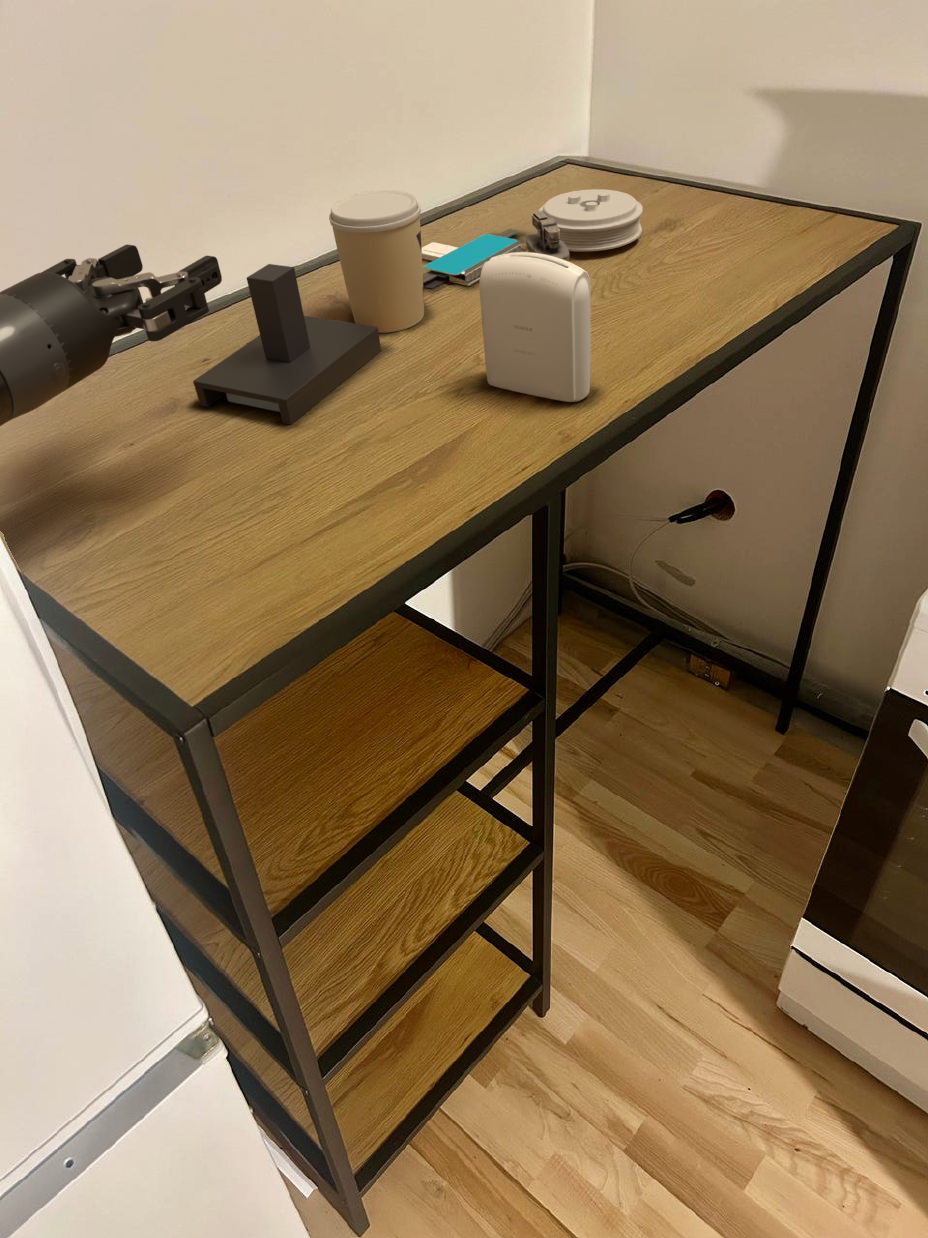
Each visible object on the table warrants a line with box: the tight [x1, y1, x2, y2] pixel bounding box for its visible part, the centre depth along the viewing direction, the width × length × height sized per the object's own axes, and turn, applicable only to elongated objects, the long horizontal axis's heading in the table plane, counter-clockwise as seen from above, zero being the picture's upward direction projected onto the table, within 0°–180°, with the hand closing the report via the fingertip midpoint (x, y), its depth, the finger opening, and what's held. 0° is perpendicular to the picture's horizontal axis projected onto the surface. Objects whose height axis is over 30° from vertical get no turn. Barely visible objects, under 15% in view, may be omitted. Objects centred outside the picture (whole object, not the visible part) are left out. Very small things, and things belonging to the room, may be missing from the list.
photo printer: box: [478, 252, 592, 403], centre depth 82 cm, size 10×4×12 cm, turn 57°
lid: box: [537, 188, 644, 253], centre depth 112 cm, size 13×13×5 cm
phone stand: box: [421, 228, 528, 290], centre depth 112 cm, size 20×12×2 cm, turn 141°
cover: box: [192, 263, 382, 425], centre depth 89 cm, size 16×11×11 cm
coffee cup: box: [328, 189, 425, 334], centre depth 97 cm, size 9×9×12 cm
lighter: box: [525, 210, 570, 262], centre depth 95 cm, size 8×3×10 cm, turn 14°
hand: (175, 261), depth 75 cm, fingers open, 8 cm apart
